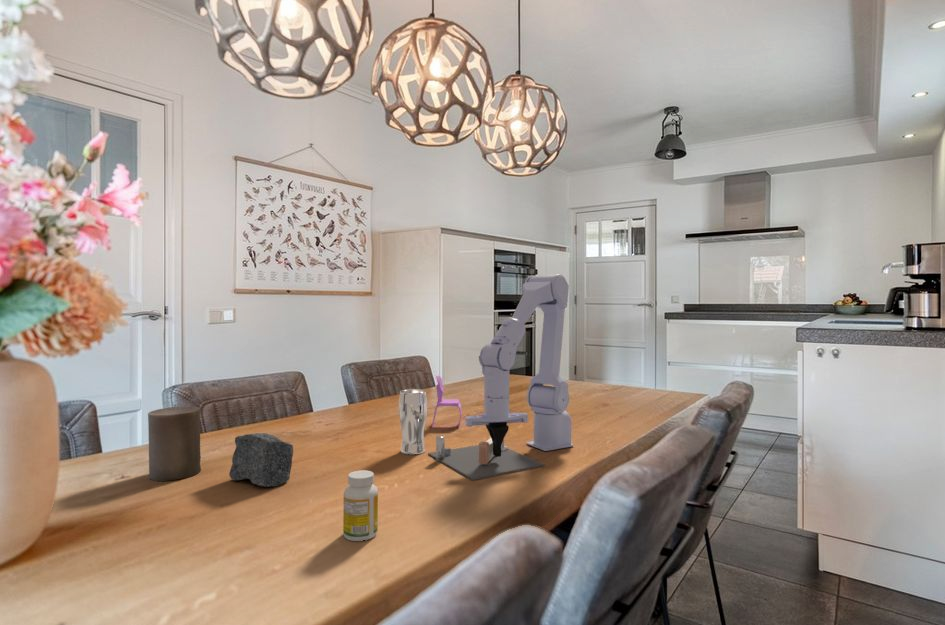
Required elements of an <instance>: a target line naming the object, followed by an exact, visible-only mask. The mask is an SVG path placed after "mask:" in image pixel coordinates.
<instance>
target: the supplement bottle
mask: <svg viewBox="0 0 945 625" xmlns="http://www.w3.org/2000/svg"><path fill="white" fill-rule="evenodd" d="M347 478H348V479H347V483H348V486H347V487H346V488H345V489H344V491H343V517H342V518H343V520H342V521H343V529H342V530H343V533H342V534H343V537H344V538H345V539H346V540H348V541H351V542H364V541H363V540H365V541H368V539H369V540H370V539H373V538H374V537H375V536H376V535H377V534H378V526H379V525H378V524H379V523H378V520H379V518H378V516H379V514H378V512H379V489H378V487H377V486H376V485H375V484H374V481H375V473H374V472H373V471H371V470H363V469H362V470H361V469H360V470H355V471H351V472H349V474H348V475H347Z"/></svg>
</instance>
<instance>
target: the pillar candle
mask: <svg viewBox="0 0 945 625" xmlns="http://www.w3.org/2000/svg"><path fill="white" fill-rule="evenodd" d="M200 411H201V410H200V407H199V406H196V405H195V406H194V405H190V406H189V405H185V406H184V405H183V406H179V405H178V406H177V404H175V403H174V406H171V407H164V408H158V409H155V410H152V411H149V412H148V413H147V421H148V422H147V423H148V426H147V427H148V428H147V429H148V472H149V473H148V476H149V479H150V480H151V481H155V482H165V481H166V482H168V481H174V480H176V481H177V480H181V479H186V478H190V477H193V476H196V475H197V474H199V473H200V472H201V471H202V469H201V468H202V467H201V461H202V460H201V413H200Z"/></svg>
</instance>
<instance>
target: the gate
mask: <svg viewBox="0 0 945 625" xmlns="http://www.w3.org/2000/svg"><path fill="white" fill-rule="evenodd" d="M478 445H479V464H487V463H488V462H489V461H490V460H491V458H492V457H493V456H494V455H493V442H492V439H491V436H490V435H489V438H488V439H487V440H486V441H480V442H479V443H478ZM501 449H502V445H501Z"/></svg>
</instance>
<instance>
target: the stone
mask: <svg viewBox="0 0 945 625" xmlns="http://www.w3.org/2000/svg"><path fill="white" fill-rule="evenodd" d="M234 443H235V449H234V452H233V455H232V457H231V458H232V459H231V463H232V465H231V466H230V471H229V474H228V475H229V478H230V479H232V481H242V480H250V482H251V483H252V484H253V485H257V486H259V487H262V488H263V487H265V488H266V487H267V488H269V487H276V486H282V485H283V484H285V483H287V482H288V481H290V478H291V477H290V476H291V471H292V470H291V469H292V465H293V457H294V445H293V444H292V443H290V442H286V441H284V440H282V439H280V438H279V437H276V436H274V435H273V434H269V433H266V432H260V433H259V432H257V433H247V434H243V435H237V436H236V437H235V438H234Z"/></svg>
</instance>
